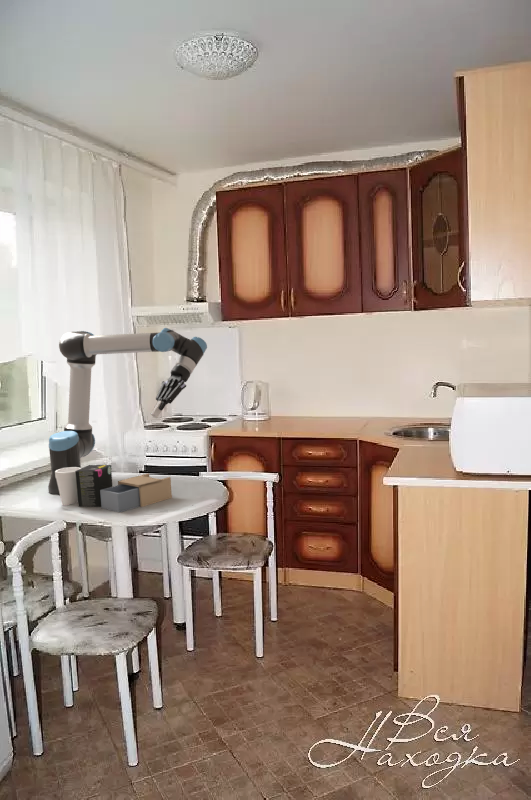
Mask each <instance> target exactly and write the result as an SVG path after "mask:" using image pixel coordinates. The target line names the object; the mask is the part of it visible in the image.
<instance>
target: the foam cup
mask: <svg viewBox="0 0 531 800" xmlns="http://www.w3.org/2000/svg"><path fill="white" fill-rule="evenodd" d="M81 468H82V467H81ZM81 468H79V467H69V468H62V469H58V470H56V471H55V478H56V480H57V484H58V488H59V493H60V494H59V496H60V502H61V505H62V506H63V507H66V506H68V505H70V506H71V505H73V504H78V495H77V484H76V473H75V471H77V470H79V469H81Z"/></svg>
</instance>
